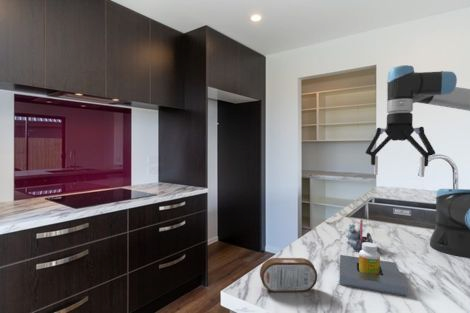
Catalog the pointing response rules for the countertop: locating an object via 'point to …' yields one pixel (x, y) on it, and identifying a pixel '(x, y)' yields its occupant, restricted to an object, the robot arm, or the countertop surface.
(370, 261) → the supplement bottle
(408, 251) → the countertop surface
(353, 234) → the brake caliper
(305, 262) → the tin
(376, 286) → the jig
